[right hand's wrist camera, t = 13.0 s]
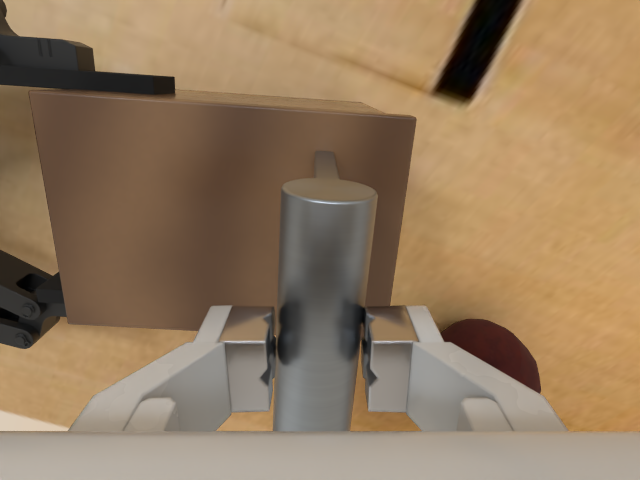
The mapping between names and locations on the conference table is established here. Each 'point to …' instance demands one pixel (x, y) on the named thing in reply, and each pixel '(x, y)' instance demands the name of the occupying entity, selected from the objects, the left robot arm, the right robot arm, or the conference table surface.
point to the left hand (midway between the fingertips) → (171, 197)
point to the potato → (495, 349)
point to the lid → (229, 224)
